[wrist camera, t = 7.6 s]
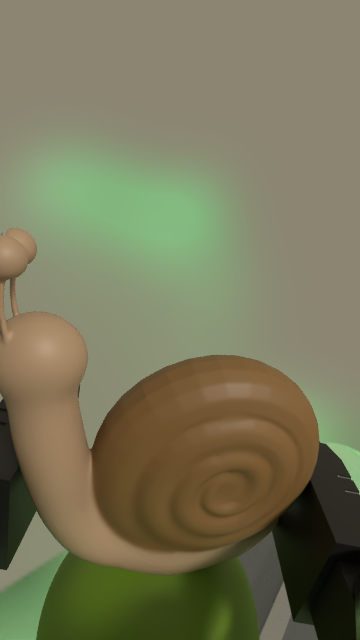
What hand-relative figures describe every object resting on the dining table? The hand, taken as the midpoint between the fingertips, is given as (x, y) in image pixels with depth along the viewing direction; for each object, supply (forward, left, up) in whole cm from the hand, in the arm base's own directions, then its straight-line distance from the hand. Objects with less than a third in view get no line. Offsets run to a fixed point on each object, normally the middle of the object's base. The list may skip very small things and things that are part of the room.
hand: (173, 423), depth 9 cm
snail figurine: (+1, -2, -7) cm, 8 cm away
